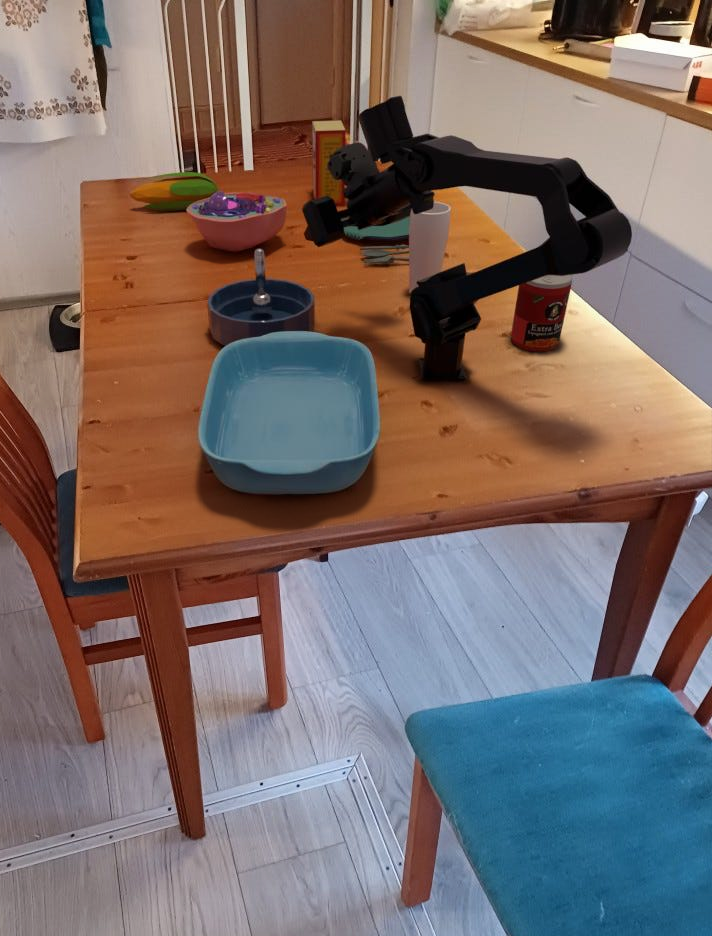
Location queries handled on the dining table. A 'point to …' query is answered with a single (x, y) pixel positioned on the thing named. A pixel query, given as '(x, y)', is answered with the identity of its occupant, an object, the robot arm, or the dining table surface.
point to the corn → (175, 191)
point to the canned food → (540, 312)
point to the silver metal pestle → (261, 287)
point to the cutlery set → (382, 234)
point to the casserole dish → (290, 413)
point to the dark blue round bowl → (239, 321)
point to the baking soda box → (327, 158)
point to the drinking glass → (427, 242)
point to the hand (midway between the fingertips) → (327, 229)
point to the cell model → (238, 219)
